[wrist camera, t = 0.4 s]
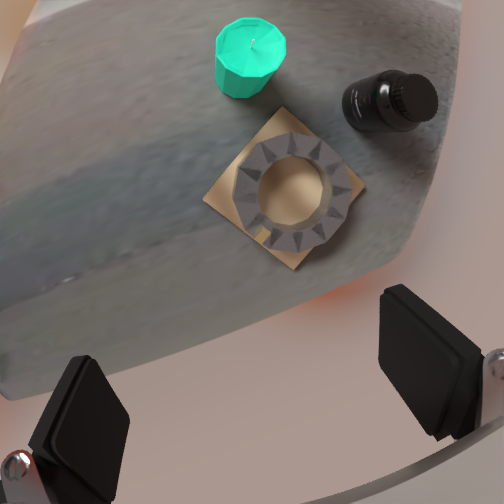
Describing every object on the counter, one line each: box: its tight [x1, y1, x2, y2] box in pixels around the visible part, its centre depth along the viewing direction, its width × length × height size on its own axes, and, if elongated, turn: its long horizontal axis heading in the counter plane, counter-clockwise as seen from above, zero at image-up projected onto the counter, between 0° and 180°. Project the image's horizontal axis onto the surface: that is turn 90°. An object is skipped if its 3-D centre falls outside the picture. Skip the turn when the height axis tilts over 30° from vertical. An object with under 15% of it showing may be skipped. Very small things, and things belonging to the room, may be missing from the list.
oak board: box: [203, 106, 366, 270], centre depth 35 cm, size 14×14×1 cm
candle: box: [215, 18, 286, 98], centre depth 25 cm, size 6×6×12 cm
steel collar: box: [232, 132, 352, 253], centre depth 33 cm, size 13×13×4 cm
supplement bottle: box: [342, 70, 438, 132], centre depth 28 cm, size 7×7×12 cm
